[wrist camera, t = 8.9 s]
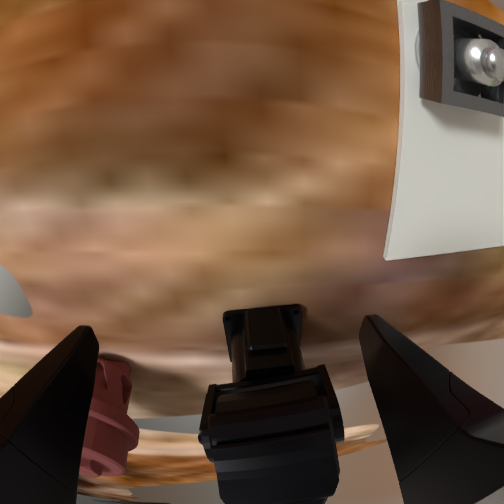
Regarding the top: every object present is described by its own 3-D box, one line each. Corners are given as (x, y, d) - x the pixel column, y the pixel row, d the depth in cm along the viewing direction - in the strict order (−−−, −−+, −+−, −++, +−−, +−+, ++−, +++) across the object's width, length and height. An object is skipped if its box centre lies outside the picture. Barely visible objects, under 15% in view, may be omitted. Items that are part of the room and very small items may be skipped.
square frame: (487, 110, 16) (509, 118, 14) (419, 97, 16) (441, 103, 14) (488, 28, 13) (511, 29, 11) (417, 3, 13) (439, -2, 10)
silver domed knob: (480, 106, 17) (528, 124, 12) (414, 95, 17) (463, 108, 12) (480, 28, 13) (529, 31, 9) (411, 6, 13) (460, -3, 9)
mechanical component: (45, 334, 27) (127, 331, 27) (86, 390, 32) (160, 391, 32) (4, 435, 16) (98, 455, 16) (65, 479, 22) (150, 492, 22)
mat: (513, 240, 24) (517, 243, 24) (383, 256, 24) (385, 260, 24) (541, 52, 14) (546, 53, 13) (396, -6, 13) (400, -7, 13)
